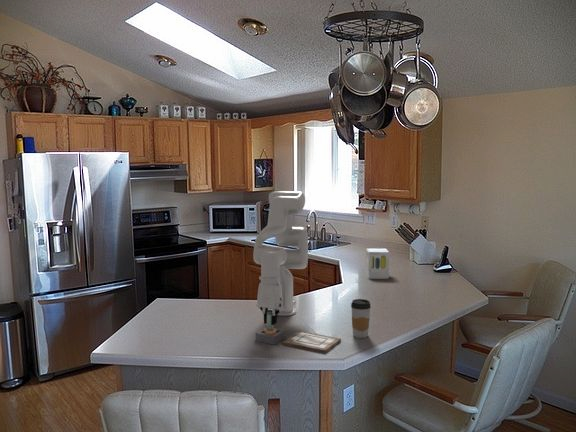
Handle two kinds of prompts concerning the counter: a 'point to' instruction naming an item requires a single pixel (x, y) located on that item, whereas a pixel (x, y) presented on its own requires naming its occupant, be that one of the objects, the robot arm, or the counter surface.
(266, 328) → the button
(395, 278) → the counter surface
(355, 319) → the coffee cup
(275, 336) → the button housing
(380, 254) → the supplement box
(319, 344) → the drawing board
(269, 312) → the sage green marker
